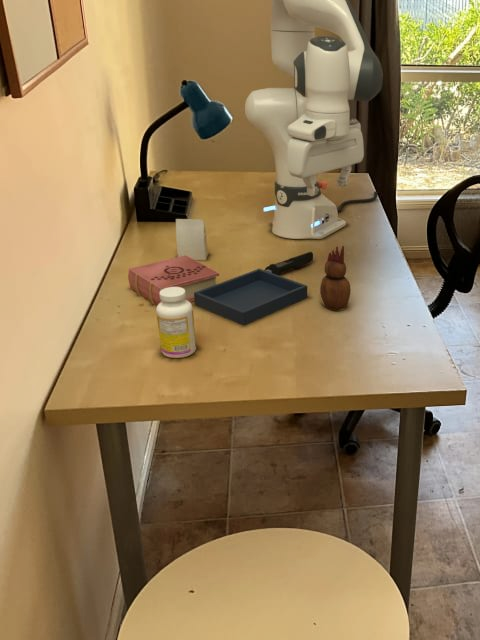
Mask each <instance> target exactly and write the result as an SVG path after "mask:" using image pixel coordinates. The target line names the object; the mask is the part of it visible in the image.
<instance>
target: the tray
mask: <svg viewBox="0 0 480 640" xmlns="http://www.w3.org/2000/svg"><path fill="white" fill-rule="evenodd" d="M308 293H309V292H308V285H306V284H303V283H301V282H298V281H295V280H293V279H290V278H288V277H284V276H281V275H276V274H273V273H270V272H267V271H265V269H262V268H257V269H254V270H252V271H249V272H246V273H244V274H241V275H238V276H236V277H233V278H229V279H227V280H225V281H222V282H220V283H216V285H214V286H211V287H208V288H206V289H203V290H200V291H197V292H195V293H194V306H196V307H199V308H200V309H203V310H205V311H208V312H210V313H213V314H215V315H218V316H219V317H222V318H225V319H227V320H229V321H232V322H234V323H237V324H240V325H241V326H246V325H248V324H251V323H253V322H256V321H257V320H261V319H262V318H265V317H266V316H270V315H271V314H273V313H275V312H278V311H281V310H283V309H285V308H288V307H289V306H292V305H294V304H296V303H299V302H302V301H304V300H305V299H308Z"/></svg>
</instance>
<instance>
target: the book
mask: <svg viewBox="0 0 480 640" xmlns="http://www.w3.org/2000/svg"><path fill="white" fill-rule="evenodd" d="M217 277H220V272H219V271H217V270H215V269H213V268H212V267H209V266H208V265H206V264H204V263H202V262H200V261H199V260H194V259H193V258H191V257H189V256H187V255H184V256H180V257H178V256H176V257H172V258H168V259H164V260H159V261H156V262H151V263H147V264H143V265H138V266H135V267H130V268H128V273H127V279H128V284H129V287H130V289H131V290H132V291H133V292H135V293H137V295H138V296H142V298H144V299H146V300H147V301H150V302H151V304H152V305H155V306H156V307H157V306H158V304H159V303H161V302H162V301H161V299H160V291H161V290H162V289H164V288H168V287H181V288H183V289H185V292H186V298H185V300H187V301H189V302H190V303H191V302H195V300H194V293H195V292H197V291H200V290H203V289H206V288H208V287H211V286H214V285H216V284H217V281H216V279H217Z"/></svg>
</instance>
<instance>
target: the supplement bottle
mask: <svg viewBox="0 0 480 640" xmlns="http://www.w3.org/2000/svg"><path fill="white" fill-rule="evenodd" d="M185 298H186V292H185V289H183V288H181V287H168V288H164V289H162V290H161V291H160V299H161V301H162V302H161V303H159V304H158V306H157V305H156V309H155V313H156V321H157V328H158V329H157V330H158V338H159V342H160V343H159V344H160V350H161V353H162V355H163V356H165V357H167V358H169V359H184V358H186V357H189V356H191V355H193V354H195V352H196V351H197V339H196V329H195V328H196V327H195V320H194V319H195V318H194V309H193V305H192V303H191V302H189V301H187V300H185Z"/></svg>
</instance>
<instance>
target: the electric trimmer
mask: <svg viewBox="0 0 480 640" xmlns="http://www.w3.org/2000/svg"><path fill="white" fill-rule="evenodd" d="M313 261H314V253H313V251H308V252H306V253H302V254H300V255H296V256H294V257H290V258H288V259H285V260H282V261H279V262H277V263H270V264H269V265H268V266H266V267H265V269H264V270H265V271H267V272H270V273H273V274H276V275H279V276H281V275H282V274H284V273H287V272H289V271H292V270H299V269H301V268H302V267H304V266H306V265H308V264H309V263H311V262H313Z"/></svg>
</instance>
